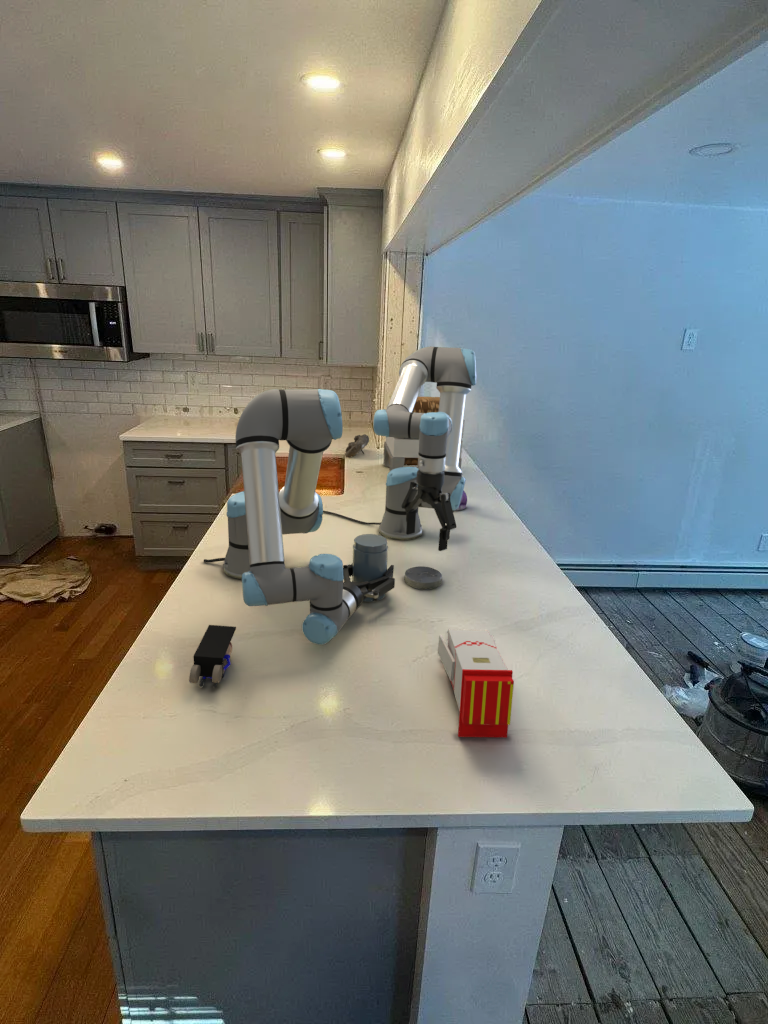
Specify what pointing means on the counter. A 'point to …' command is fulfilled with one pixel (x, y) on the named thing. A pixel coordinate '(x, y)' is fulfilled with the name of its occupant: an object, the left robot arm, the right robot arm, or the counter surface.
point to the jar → (369, 559)
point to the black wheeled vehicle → (212, 654)
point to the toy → (478, 682)
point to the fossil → (357, 445)
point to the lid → (423, 577)
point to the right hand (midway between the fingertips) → (426, 541)
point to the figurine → (463, 501)
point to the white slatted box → (408, 449)
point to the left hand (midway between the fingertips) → (375, 566)
